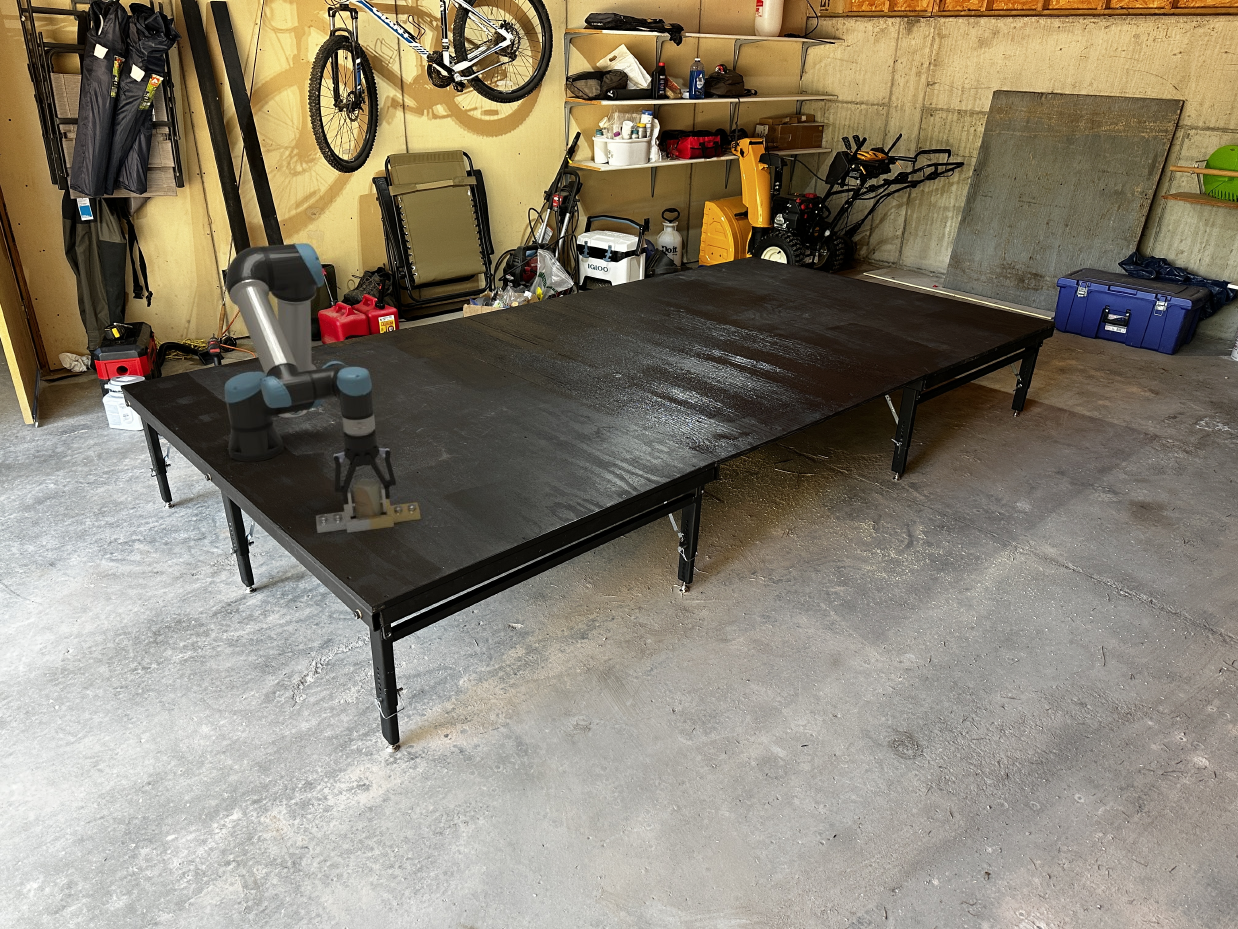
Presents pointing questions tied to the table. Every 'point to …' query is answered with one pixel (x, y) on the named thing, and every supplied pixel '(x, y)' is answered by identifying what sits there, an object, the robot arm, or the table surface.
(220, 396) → the table surface
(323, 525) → the link
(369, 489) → the box
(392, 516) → the link
